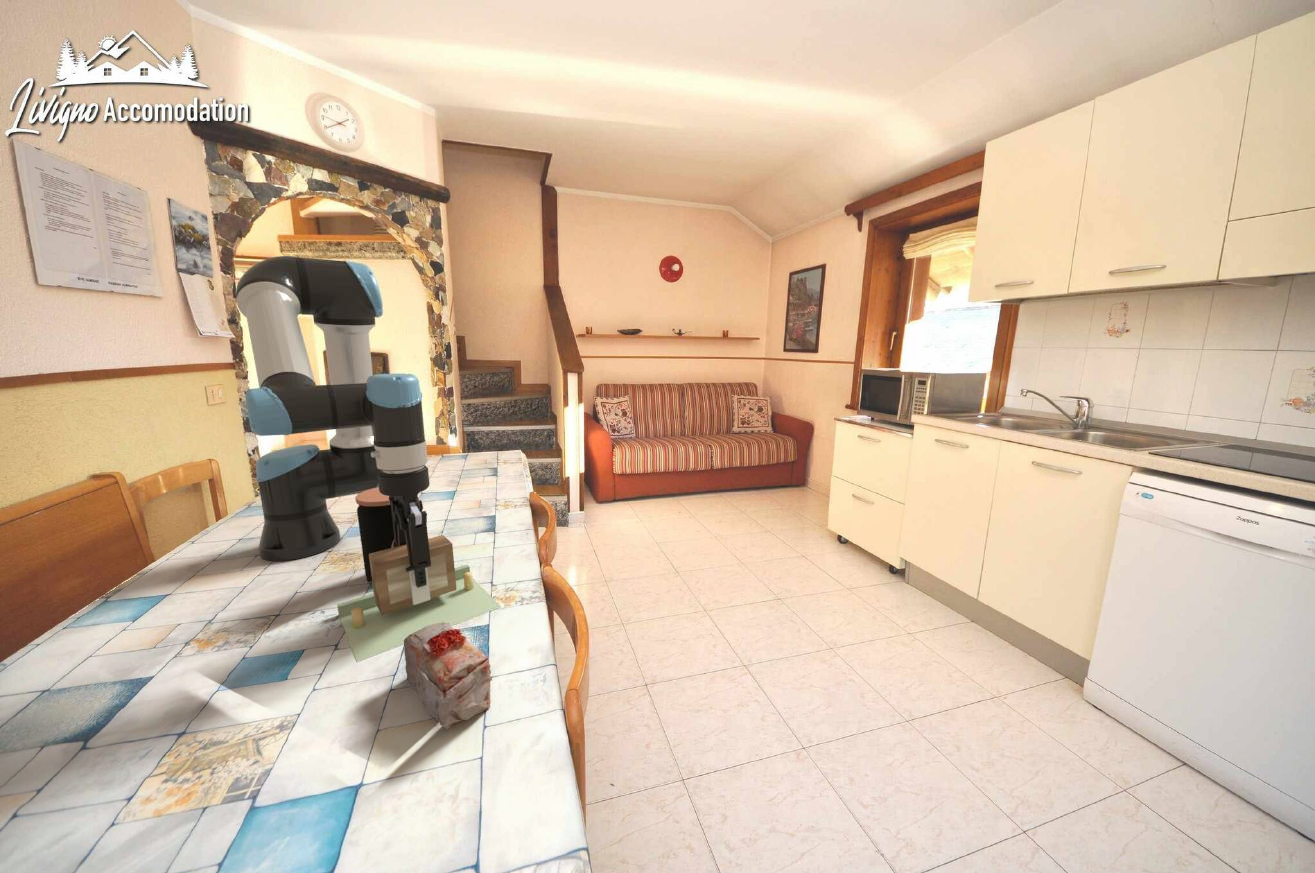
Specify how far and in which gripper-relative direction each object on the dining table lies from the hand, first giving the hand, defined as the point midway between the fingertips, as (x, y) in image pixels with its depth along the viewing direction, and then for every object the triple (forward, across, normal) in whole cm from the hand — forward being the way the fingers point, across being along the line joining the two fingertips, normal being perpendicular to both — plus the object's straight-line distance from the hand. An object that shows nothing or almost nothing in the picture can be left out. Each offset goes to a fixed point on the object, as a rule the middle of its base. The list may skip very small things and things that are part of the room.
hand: (416, 594), depth 83 cm
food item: (+4, +25, -3) cm, 25 cm away
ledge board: (+4, +2, 0) cm, 4 cm away
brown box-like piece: (0, 0, 0) cm, 0 cm away
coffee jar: (+4, -17, 0) cm, 18 cm away
